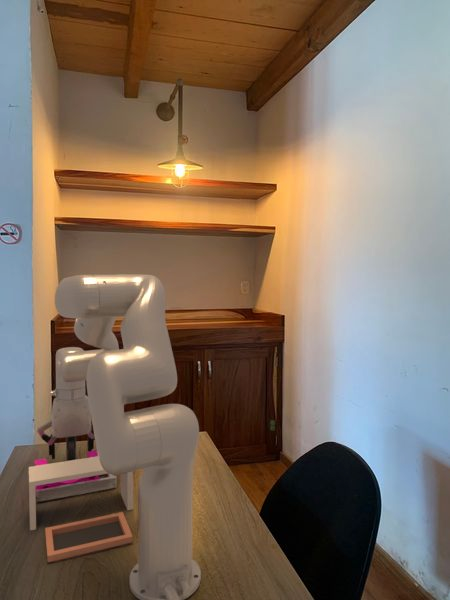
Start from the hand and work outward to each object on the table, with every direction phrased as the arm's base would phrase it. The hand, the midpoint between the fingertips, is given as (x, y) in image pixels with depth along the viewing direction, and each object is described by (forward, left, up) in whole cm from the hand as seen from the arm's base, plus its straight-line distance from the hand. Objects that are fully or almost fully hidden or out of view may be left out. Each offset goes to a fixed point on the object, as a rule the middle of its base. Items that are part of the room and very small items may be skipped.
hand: (71, 454), depth 124 cm
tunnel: (-23, 0, -4) cm, 23 cm away
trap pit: (-35, 0, -4) cm, 35 cm away
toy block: (-11, +2, -5) cm, 12 cm away
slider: (-7, 0, -4) cm, 8 cm away
